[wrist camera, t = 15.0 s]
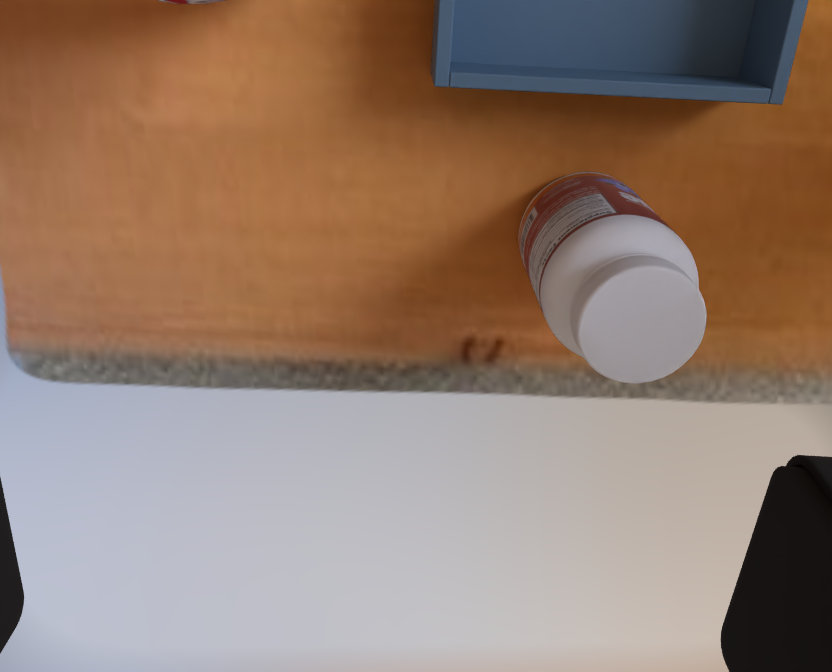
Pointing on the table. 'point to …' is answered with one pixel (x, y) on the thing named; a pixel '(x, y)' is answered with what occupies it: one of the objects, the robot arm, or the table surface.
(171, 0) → the soda can
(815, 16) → the table surface
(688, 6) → the tote
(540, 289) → the pill bottle
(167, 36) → the table surface
